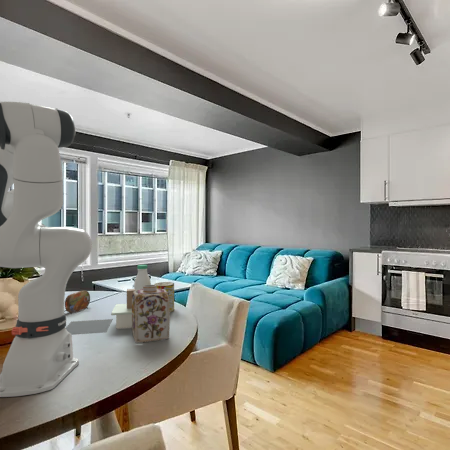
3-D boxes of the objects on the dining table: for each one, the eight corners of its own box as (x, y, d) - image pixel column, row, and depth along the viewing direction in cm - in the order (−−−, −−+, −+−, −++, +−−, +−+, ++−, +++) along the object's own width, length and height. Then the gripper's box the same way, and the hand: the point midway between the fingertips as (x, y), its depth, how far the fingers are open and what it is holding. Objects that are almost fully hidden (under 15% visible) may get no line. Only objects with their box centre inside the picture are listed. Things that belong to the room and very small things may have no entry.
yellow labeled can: (150, 312, 143) (150, 285, 143) (159, 306, 152) (159, 281, 152) (169, 313, 141) (169, 286, 141) (177, 308, 150) (177, 282, 150)
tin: (69, 315, 139) (69, 295, 139) (63, 314, 140) (63, 295, 140) (90, 306, 154) (90, 288, 154) (85, 305, 154) (84, 288, 154)
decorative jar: (134, 344, 105) (134, 289, 105) (131, 333, 116) (131, 283, 116) (170, 339, 110) (170, 287, 110) (164, 328, 121) (163, 281, 121)
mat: (106, 333, 116) (106, 332, 116) (58, 336, 113) (58, 335, 113) (112, 320, 132) (112, 319, 132) (71, 322, 128) (71, 321, 128)
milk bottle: (147, 309, 147) (146, 266, 147) (131, 309, 148) (131, 266, 148) (153, 305, 155) (153, 264, 154) (138, 304, 156) (138, 263, 156)
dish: (143, 328, 121) (143, 312, 121) (116, 329, 119) (116, 313, 119) (145, 320, 131) (144, 305, 131) (119, 321, 129) (119, 307, 129)
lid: (147, 313, 120) (147, 292, 120) (111, 315, 118) (111, 294, 118) (148, 304, 133) (148, 285, 133) (116, 306, 130) (115, 287, 130)
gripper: (25, 225, 109) (56, 253, 111) (46, 224, 129) (72, 248, 131) (10, 238, 108) (42, 266, 110) (34, 235, 128) (60, 259, 130)
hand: (58, 256), depth 121 cm, fingers open, 8 cm apart
